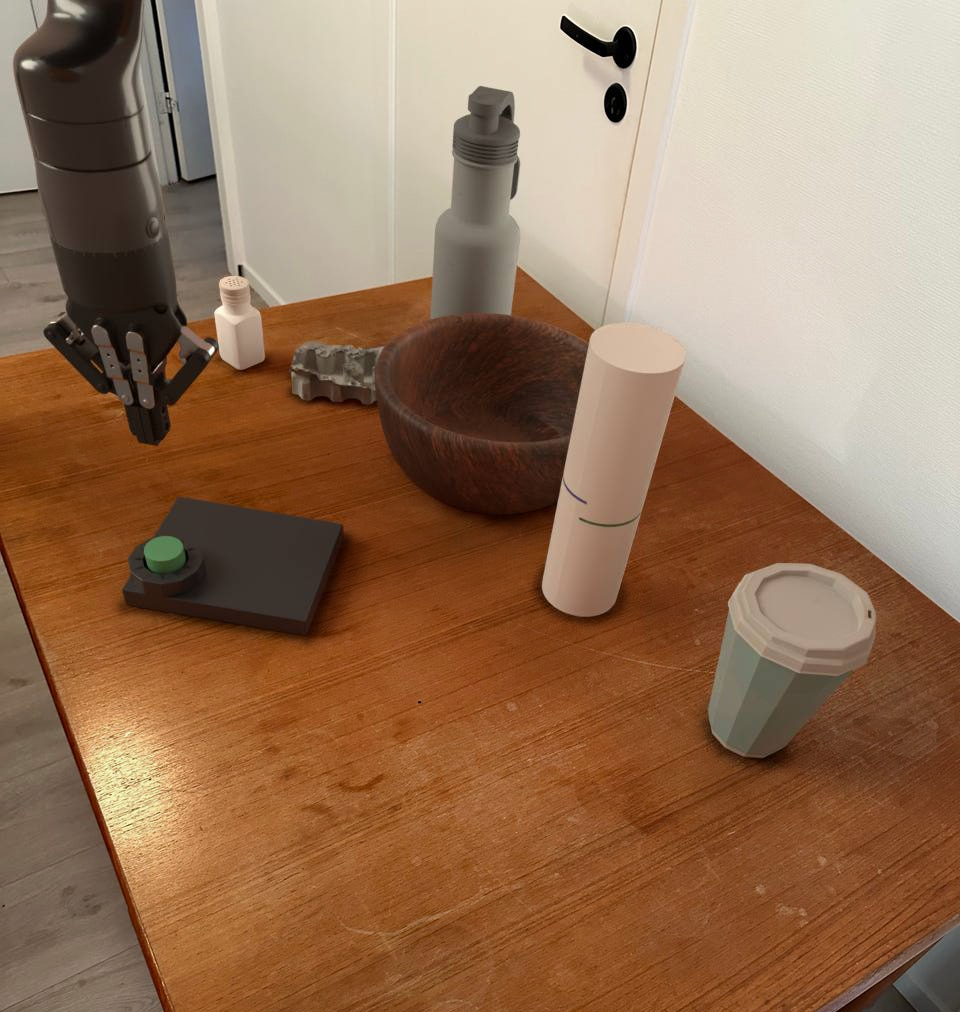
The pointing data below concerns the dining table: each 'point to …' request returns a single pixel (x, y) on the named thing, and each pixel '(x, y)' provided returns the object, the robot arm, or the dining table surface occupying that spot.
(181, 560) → the button
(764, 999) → the dining table surface
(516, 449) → the wooden bowl
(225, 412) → the dining table surface
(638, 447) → the cylindrical container
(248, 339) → the pepper shaker
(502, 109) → the water bottle
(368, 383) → the egg carton
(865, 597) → the disposable coffee cup
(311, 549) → the dark grey flat block
